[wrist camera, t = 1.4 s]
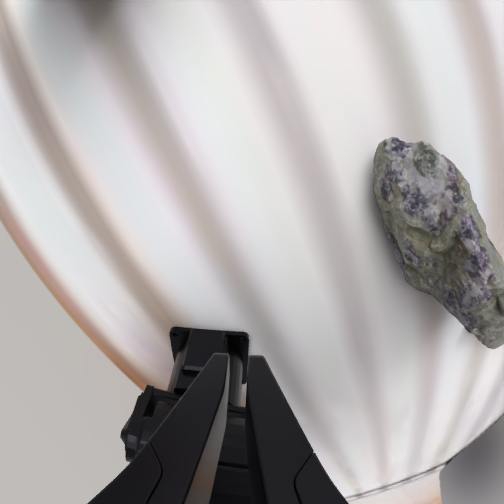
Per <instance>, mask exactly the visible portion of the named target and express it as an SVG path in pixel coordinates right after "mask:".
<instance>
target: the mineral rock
mask: <svg viewBox="0 0 504 504" xmlns="http://www.w3.org/2000/svg"><path fill="white" fill-rule="evenodd" d="M374 173H375V175H376V176H377V178H376V181H375V183H374V192H375V195H376V198H377V202H378V205H379V207H380V210H381V213H382V217H383V221H384V228H385V229H386V231H387V239H389V240H390V241H391V242H392V243H394V245H395V247H396V250H395V257H396V259H397V261H398V262H399V263H400V264H401V268H402V270H403V271H404V275H405V279H406V281H407V282H408V283H409V284H410V285H413V287H414V288H416V289H418V290H419V291H422V292H425V293H427V294H430V295H433V296H434V297H435V298H436V299H437V300H438V302H440V303H441V304H442V305H443V306H444V307H445V308H446V309H447V310H448V311H449V312H450V313H451V314H452V315H453V316H455V317H456V318H457V319H458V320H459V322H460V323H461V324H462V325H464V327H465V329H466V330H467V331H468V332H470V333H473V334H474V335H475V336H476V337H477V339H478V340H479V341H481V342H482V344H484V345H486V346H487V347H488V348H491V349H495V348H497V347H499V346H501V345H503V344H504V262H503V260H502V257H501V255H500V254H499V253H498V252H497V250H496V249H495V247H494V245H493V244H492V242H491V241H490V239H489V238H488V236H487V233H486V226H485V223H484V221H483V219H482V218H481V216H480V214H479V212H478V209H477V206H476V204H475V203H474V201H473V200H472V196H471V191H470V186H469V183H468V182H467V180H466V179H465V178H464V177H463V175H462V174H461V172H460V171H459V170H458V169H457V168H456V166H455V165H454V164H453V163H452V162H451V161H450V160H449V159H447V158H446V157H445V156H444V155H440V153H438V152H437V151H436V150H435V149H434V148H433V147H432V146H431V144H429V143H426V142H424V141H421V142H418V143H406V142H403V141H400V140H399V139H398V138H395V137H391V138H389V139H385V140H384V141H382V142H381V143H379V145H378V147H377V149H376V153H375V157H374Z"/></svg>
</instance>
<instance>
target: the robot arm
mask: <svg viewBox="0 0 504 504" xmlns="http://www.w3.org/2000/svg"><path fill="white" fill-rule="evenodd" d="M174 332H175V333H174ZM176 333H177V334H176ZM169 334H170V340H171V346H172V352H173V357H174V362H175V364H174V368H173V371H172V375H171V379H170V383H169V387H168V390H167V391H165V390H161V389H157V388H154V386H150V385H147V386H146V389H145V391H144V393H143V392H142V394H141V395H140V396H138V399H137V402H136V405H135V408H134V411H133V413H132V415H131V417H130V418H129V420H128V421H127V423H126V424H125V426H124V428H123V429H122V431H121V439H122V441H123V442H124V444H125V451H126V461H128V462H130V464H129V465H128V466H127V467H126V468H125V469H124V470H123V471H122V472H121V473H120V474H119V475H118V476H117V477H116V478H115V479H114V480H113V481H112V482H111V483H110V484H108V485H107V486H106V487H105V488H104V489H103V490H102V491H101V492H100V493H99V494H98V495H96V496H95V497H94V498H93V499H92V500H91V501H90V502H89V503H88V504H349V503H348V502H347V501H346V500H345V498H344V497H343V496H342V494H341V493H340V492H339V490H338V489H337V488H336V486H335V485H334V484H333V482H332V481H331V479H330V478H329V476H328V474H327V473H326V471H325V470H324V468H323V466H322V465H321V463H320V461H319V459H318V457H317V456H316V454H315V453H313V449H312V447H311V445H310V443H309V441H308V439H307V438H306V436H305V434H304V432H303V430H302V428H301V427H300V425H299V423H298V421H297V419H296V417H295V415H294V413H293V412H292V410H291V408H290V406H289V404H288V402H287V400H286V398H285V396H284V394H283V392H282V391H281V389H280V387H279V385H278V383H277V381H276V379H275V377H274V375H273V373H272V371H271V369H270V367H269V365H268V363H267V361H266V359H265V358H264V356H261V355H250V356H249V357H248V347H249V335H248V334H247V333H245V332H234V331H219V330H205V329H193V328H181V327H173V328H171V330H170V333H169ZM242 338H244V339H242ZM247 366H248V372H247ZM246 382H247V391H246V407H240V401H241V385H242V384H245V383H246Z"/></svg>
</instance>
